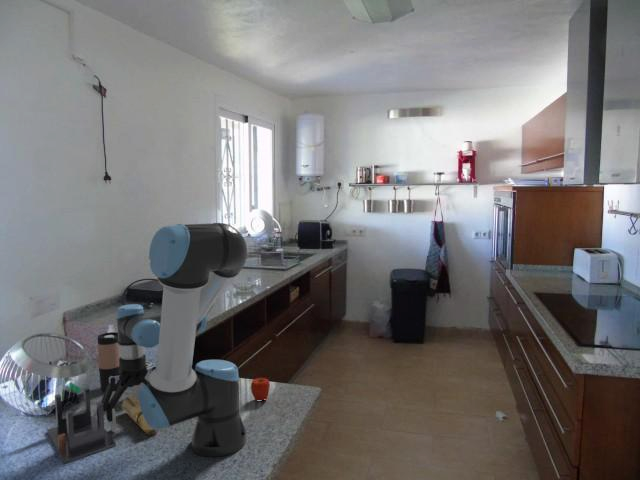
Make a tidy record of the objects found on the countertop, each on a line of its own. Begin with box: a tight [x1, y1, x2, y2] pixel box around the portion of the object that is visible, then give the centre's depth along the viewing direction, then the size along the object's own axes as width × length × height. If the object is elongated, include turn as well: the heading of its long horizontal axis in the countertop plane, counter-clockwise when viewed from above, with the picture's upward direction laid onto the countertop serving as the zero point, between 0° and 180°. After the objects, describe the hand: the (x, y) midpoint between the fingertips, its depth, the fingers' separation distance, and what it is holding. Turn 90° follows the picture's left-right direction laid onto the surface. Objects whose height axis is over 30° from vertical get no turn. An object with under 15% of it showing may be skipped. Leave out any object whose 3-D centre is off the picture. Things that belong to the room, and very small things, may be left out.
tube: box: [121, 395, 160, 436], centre depth 140 cm, size 20×5×5 cm
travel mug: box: [97, 331, 121, 393], centre depth 166 cm, size 8×8×20 cm
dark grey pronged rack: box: [46, 386, 117, 465], centre depth 131 cm, size 22×13×12 cm, turn 41°
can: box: [131, 360, 153, 400], centre depth 159 cm, size 8×8×12 cm
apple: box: [250, 377, 271, 401], centre depth 155 cm, size 6×6×8 cm
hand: (135, 423), depth 140 cm, fingers open, 12 cm apart
